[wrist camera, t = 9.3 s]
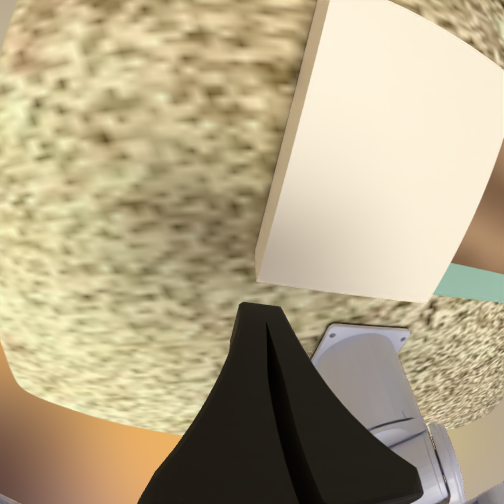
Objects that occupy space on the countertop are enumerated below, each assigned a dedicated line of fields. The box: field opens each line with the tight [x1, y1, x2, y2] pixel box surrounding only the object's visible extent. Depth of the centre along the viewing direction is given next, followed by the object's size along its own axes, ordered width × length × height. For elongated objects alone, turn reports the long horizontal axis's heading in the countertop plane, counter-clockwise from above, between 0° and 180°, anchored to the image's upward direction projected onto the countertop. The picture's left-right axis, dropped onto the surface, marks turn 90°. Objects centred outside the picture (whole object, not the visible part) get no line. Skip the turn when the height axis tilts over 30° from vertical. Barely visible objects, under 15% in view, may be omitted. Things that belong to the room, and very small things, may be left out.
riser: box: [254, 0, 504, 303], centre depth 16 cm, size 16×12×3 cm
